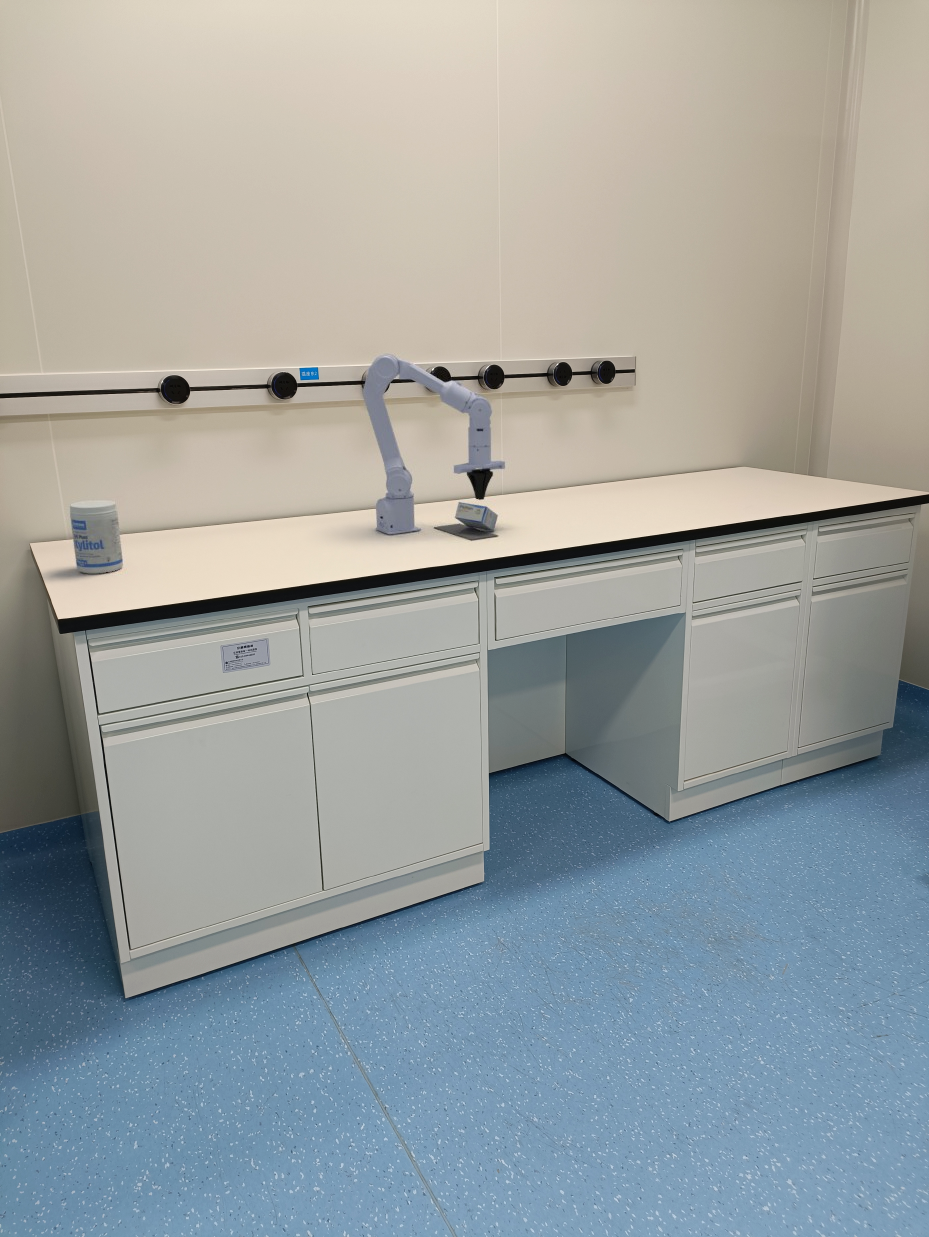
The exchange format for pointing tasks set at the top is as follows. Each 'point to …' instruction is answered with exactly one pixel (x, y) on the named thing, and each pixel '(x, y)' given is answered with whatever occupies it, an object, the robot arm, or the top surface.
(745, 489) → the top surface
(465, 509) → the medicine box
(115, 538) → the supplement tub
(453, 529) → the rubber mat
